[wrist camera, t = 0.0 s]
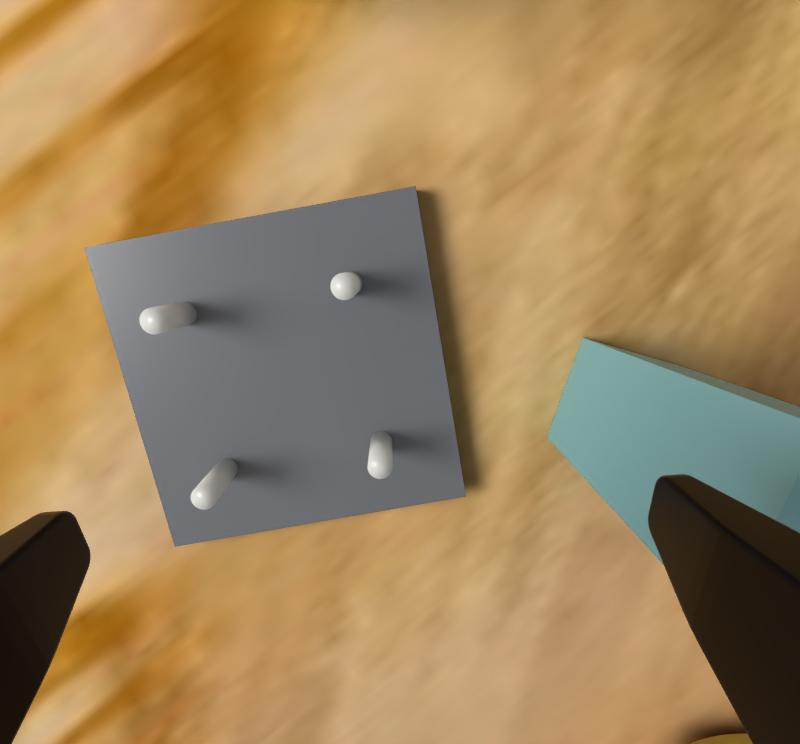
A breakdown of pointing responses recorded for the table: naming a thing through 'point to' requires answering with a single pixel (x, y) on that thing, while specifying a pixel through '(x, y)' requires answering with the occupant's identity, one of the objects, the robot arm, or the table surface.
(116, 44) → the table surface
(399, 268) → the base plate
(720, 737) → the banana
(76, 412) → the table surface
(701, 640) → the robot arm
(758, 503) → the teal block
